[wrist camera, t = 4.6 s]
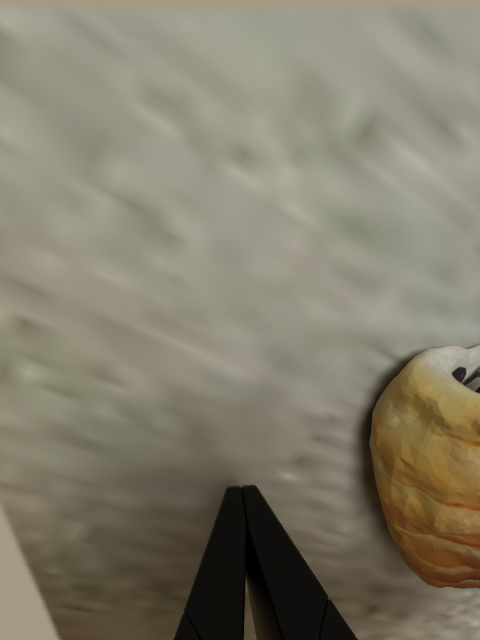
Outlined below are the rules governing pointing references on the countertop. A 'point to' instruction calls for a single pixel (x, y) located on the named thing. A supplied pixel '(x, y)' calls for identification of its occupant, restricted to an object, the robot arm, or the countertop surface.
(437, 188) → the countertop surface
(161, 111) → the countertop surface
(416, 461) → the pastry
